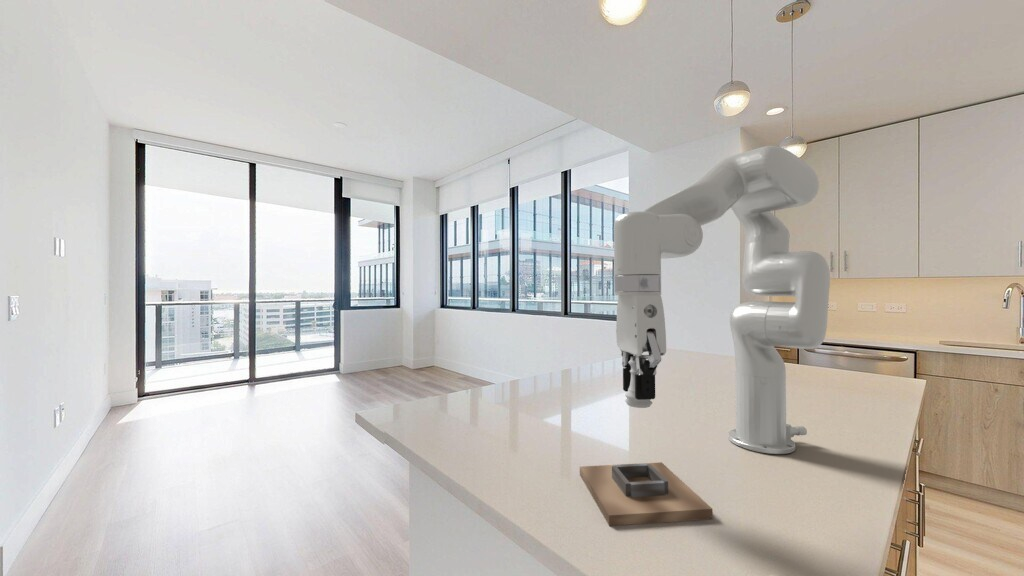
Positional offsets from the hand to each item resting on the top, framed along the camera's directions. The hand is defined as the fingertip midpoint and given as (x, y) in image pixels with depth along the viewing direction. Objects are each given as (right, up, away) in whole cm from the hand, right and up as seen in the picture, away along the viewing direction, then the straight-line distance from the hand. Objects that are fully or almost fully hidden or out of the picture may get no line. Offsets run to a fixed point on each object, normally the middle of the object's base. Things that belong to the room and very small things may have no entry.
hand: (638, 393), depth 66 cm
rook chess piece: (0, -2, 0) cm, 2 cm away
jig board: (0, -17, 0) cm, 17 cm away
